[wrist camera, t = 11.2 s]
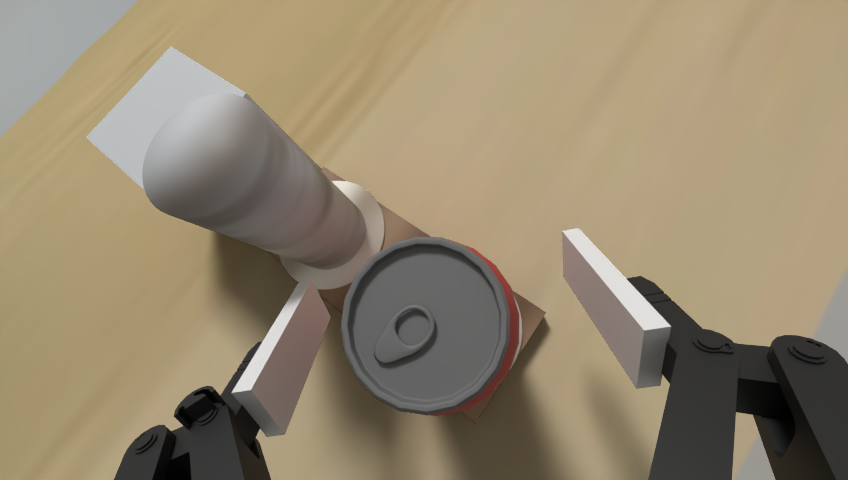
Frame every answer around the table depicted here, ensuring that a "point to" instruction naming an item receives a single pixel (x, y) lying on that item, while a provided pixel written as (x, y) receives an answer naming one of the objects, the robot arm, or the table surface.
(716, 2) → the table surface
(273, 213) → the board
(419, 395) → the beer can
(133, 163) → the white upright block
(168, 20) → the table surface
